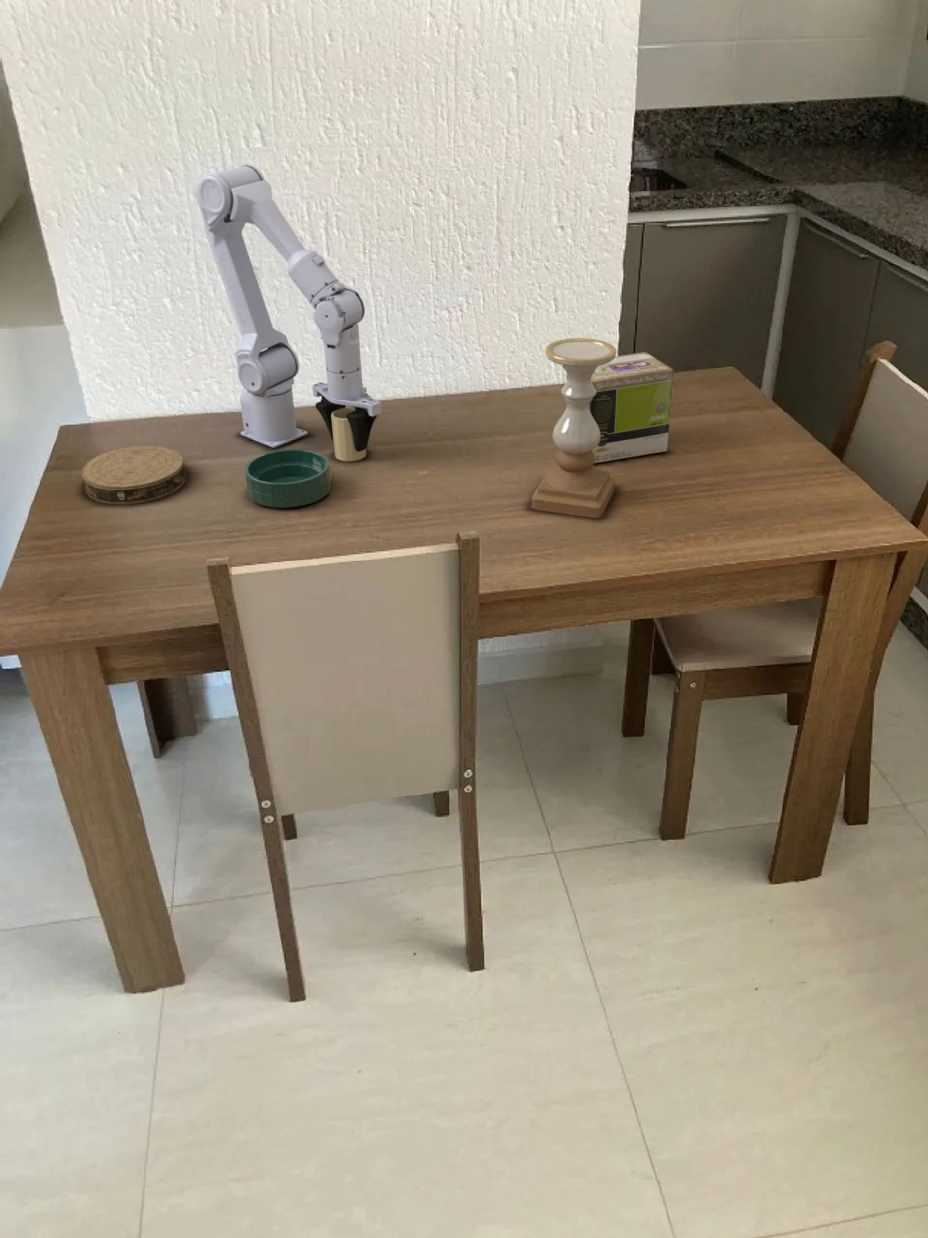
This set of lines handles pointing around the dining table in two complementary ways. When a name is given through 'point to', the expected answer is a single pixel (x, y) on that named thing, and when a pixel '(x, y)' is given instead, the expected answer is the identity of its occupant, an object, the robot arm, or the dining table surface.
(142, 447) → the round wood slice
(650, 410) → the tea box
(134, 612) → the dining table surface
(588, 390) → the candle holder
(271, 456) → the bowl
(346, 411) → the cup
